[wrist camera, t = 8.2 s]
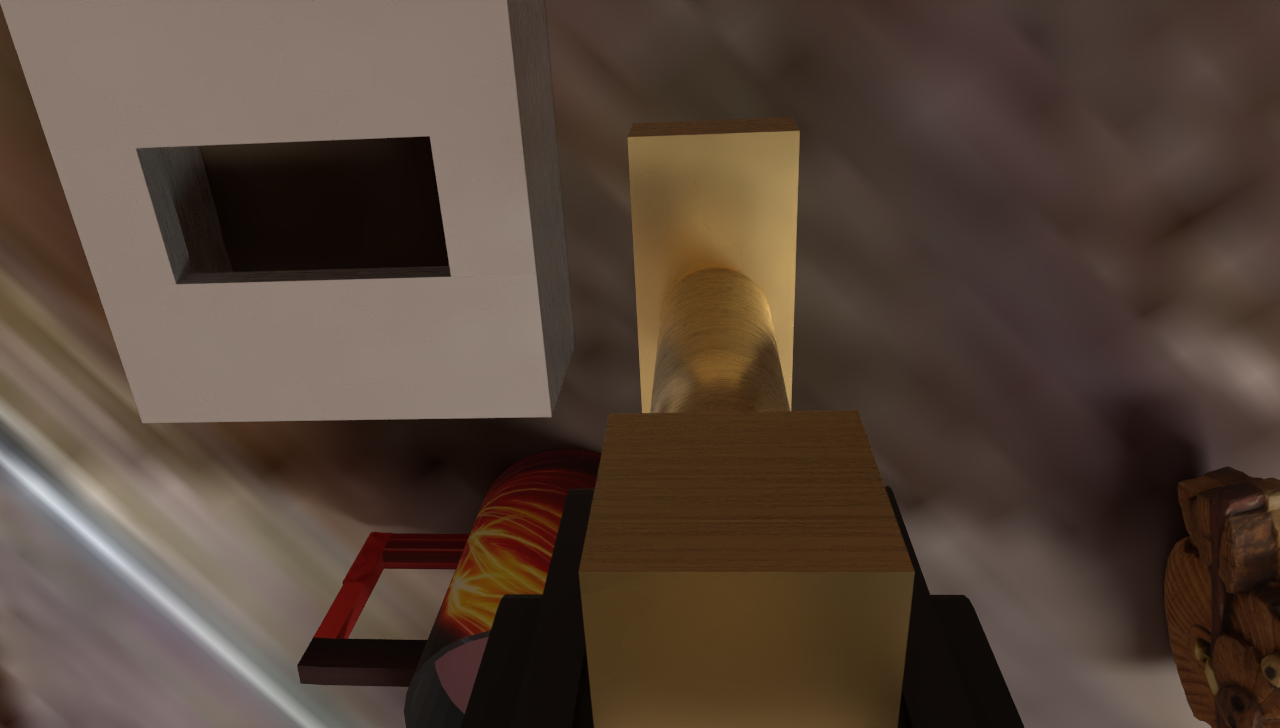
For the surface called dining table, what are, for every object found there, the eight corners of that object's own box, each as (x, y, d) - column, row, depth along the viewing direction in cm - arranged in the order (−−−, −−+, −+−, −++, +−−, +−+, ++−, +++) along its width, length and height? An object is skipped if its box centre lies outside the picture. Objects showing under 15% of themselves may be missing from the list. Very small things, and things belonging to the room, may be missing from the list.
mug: (372, 520, 43) (261, 710, 32) (616, 418, 39) (585, 591, 29) (472, 655, 46) (403, 867, 35) (704, 571, 43) (707, 778, 32)
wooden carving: (1120, 450, 39) (1249, 600, 30) (1229, 422, 38) (1396, 567, 29) (1162, 707, 45) (1279, 895, 36) (1257, 688, 44) (1401, 876, 35)
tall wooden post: (791, 117, 18) (1021, 509, 5) (782, 440, 22) (909, 1162, 9) (633, 123, 19) (481, 510, 6) (648, 442, 22) (577, 1144, 9)
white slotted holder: (538, -58, 31) (500, -63, 25) (574, 344, 38) (551, 416, 32) (120, -34, 32) (-12, -33, 26) (228, 351, 39) (142, 423, 33)
